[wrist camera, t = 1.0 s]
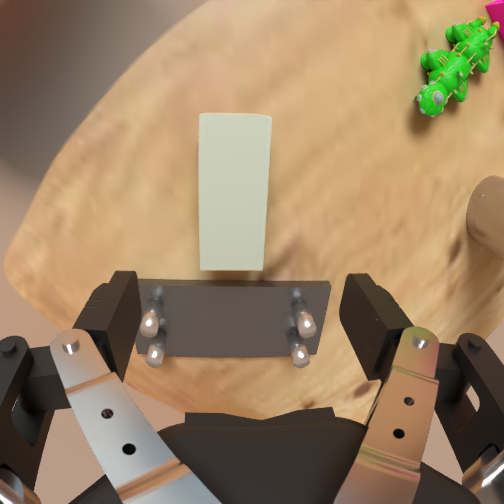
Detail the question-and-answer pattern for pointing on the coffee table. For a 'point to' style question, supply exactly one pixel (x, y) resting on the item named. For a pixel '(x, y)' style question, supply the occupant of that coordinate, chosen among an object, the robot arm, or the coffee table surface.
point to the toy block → (497, 14)
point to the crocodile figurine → (455, 65)
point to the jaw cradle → (231, 319)
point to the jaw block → (233, 189)
